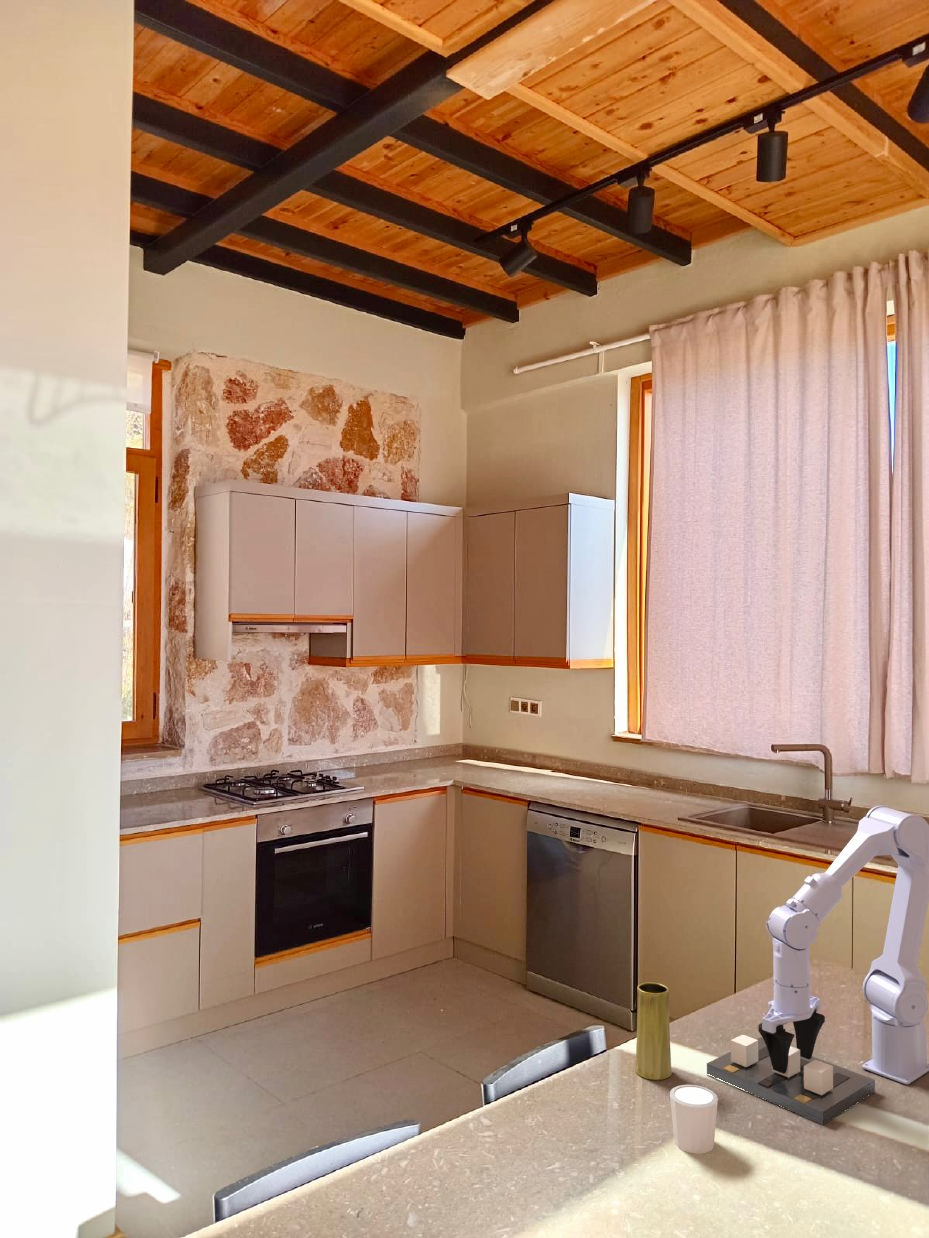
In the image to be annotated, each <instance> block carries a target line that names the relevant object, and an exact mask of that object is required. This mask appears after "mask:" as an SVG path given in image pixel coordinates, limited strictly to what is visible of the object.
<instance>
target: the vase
mask: <svg viewBox="0 0 929 1238" xmlns="http://www.w3.org/2000/svg"><path fill="white" fill-rule="evenodd" d="M636 988H637V989H636V990H637V991H636V992H637V997H636V998H637V1004H636V1005H637V1006H636V1007H637V1010H636V1012H637V1015H636V1016H637V1018H636V1043H635V1045H636V1047H635V1049H636V1050H635V1051H636V1052H635V1066H634V1071H635V1073H636V1074H637V1075H638V1076H639V1077H641V1078H644V1079H646V1080H651V1081H662V1080H666V1079H669V1077H672V1076H671V1075H672V1073H673V1069H672V1057H671V1056H672V1055H671V1054H672V1053H671V1051H672V1050H671V1036H670V1035H671V1032H670V991H669V990H670V989H669V987H668V986H666V985H665V984H662V983H659V982H650V981H647V982H646V981H645V982H642V983H640V984H638V985H637V987H636Z"/></svg>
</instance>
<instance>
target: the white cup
mask: <svg viewBox="0 0 929 1238" xmlns="http://www.w3.org/2000/svg"><path fill="white" fill-rule="evenodd" d="M669 1097H670V1108H671V1118H672V1130H673V1140H674V1144H675V1146H677V1148H678V1149H680V1150H682V1151H684V1152H687V1153H690V1154H699V1155H700V1154H707V1153H709V1152H711V1151H712V1150H713V1149H714V1146H715V1139H716V1127H717V1126H716V1125H717V1113H718V1101H719V1099H718V1095H717V1094H716V1093H715V1092H714V1091H713V1090H711V1089H709V1088H707V1087H704V1086H700V1085H697V1084H681V1085H677V1086H675V1087H673V1088H671V1090H670V1091H669Z"/></svg>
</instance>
